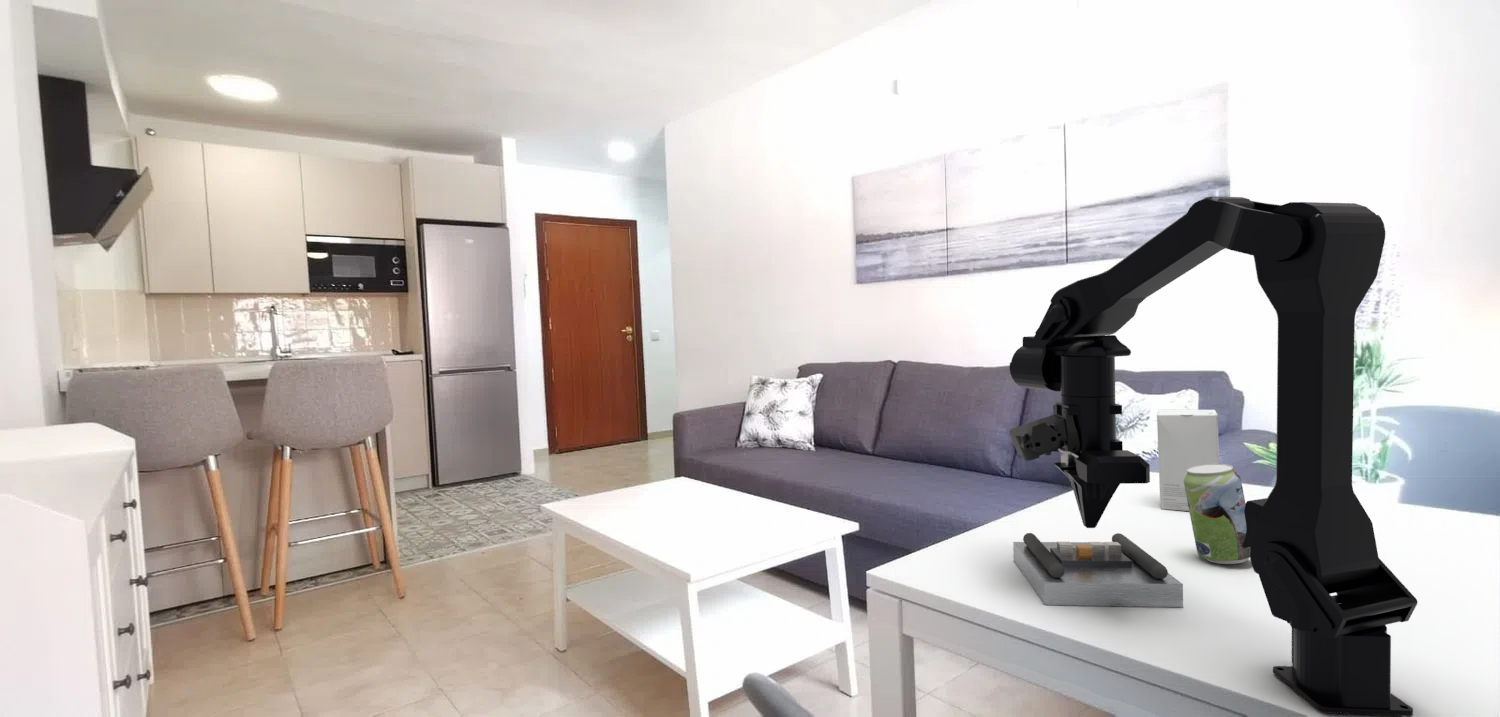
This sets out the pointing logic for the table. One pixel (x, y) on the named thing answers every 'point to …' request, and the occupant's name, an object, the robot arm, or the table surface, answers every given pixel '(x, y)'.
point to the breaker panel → (1096, 577)
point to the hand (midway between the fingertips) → (1089, 527)
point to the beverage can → (1217, 512)
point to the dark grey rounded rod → (1141, 557)
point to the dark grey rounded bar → (1044, 555)
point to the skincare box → (1183, 450)
